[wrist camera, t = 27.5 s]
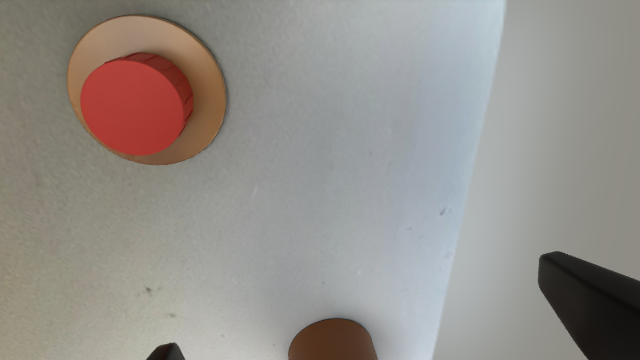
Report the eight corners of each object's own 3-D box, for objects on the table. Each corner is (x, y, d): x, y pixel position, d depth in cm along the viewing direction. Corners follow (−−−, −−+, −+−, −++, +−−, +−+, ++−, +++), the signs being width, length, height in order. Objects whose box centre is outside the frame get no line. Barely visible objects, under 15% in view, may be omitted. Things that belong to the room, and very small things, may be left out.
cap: (207, 80, 18) (200, 91, 16) (174, 151, 19) (162, 171, 17) (121, 34, 17) (98, 39, 14) (91, 113, 18) (65, 129, 16)
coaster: (199, -1, 17) (197, -2, 17) (243, 143, 20) (243, 147, 20) (42, 33, 17) (35, 34, 16) (111, 174, 20) (107, 180, 19)
